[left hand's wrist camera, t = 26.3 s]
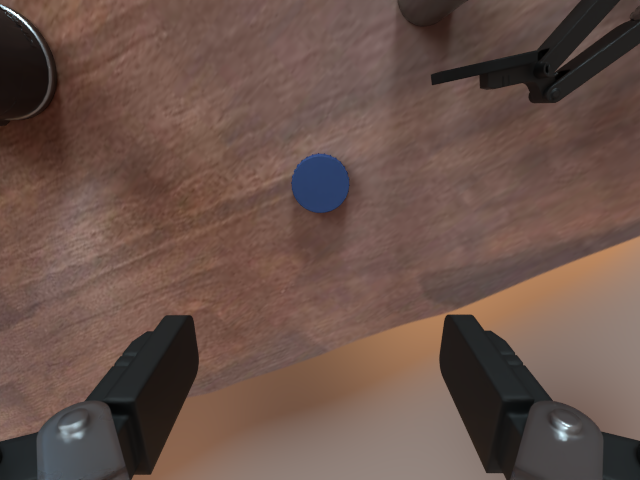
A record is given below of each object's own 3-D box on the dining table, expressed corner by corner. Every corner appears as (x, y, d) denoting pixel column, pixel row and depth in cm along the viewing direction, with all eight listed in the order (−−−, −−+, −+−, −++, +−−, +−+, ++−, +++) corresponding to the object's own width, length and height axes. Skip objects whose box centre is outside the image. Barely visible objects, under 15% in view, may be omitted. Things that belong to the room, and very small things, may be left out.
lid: (340, 146, 35) (341, 148, 33) (354, 200, 37) (355, 205, 35) (285, 162, 35) (283, 164, 34) (301, 215, 37) (300, 220, 35)
